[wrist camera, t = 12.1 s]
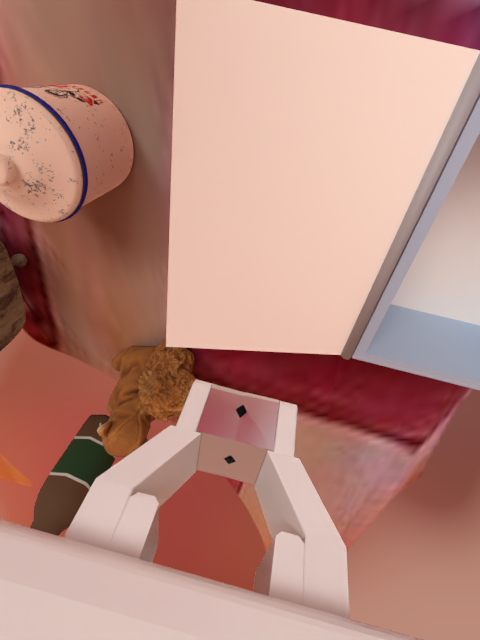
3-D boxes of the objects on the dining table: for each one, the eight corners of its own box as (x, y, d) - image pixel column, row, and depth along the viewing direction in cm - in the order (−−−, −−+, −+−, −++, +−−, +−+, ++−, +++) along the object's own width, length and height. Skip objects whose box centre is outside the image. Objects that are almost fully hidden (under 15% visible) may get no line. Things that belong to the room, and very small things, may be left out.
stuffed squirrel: (111, 359, 49) (52, 438, 39) (169, 310, 42) (117, 391, 31) (164, 400, 52) (123, 484, 42) (227, 361, 45) (197, 451, 34)
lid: (165, 351, 25) (166, 339, 26) (351, 359, 28) (346, 348, 29) (176, -19, 13) (177, -14, 14) (502, 54, 16) (483, 53, 17)
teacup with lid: (116, 70, 28) (13, 72, 19) (150, 186, 33) (82, 233, 24) (-1, 96, 31) (-140, 109, 22) (46, 199, 36) (-50, 244, 27)
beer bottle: (130, 446, 62) (42, 614, 43) (89, 434, 62) (-16, 596, 43) (127, 419, 57) (27, 596, 38) (83, 407, 58) (-37, 575, 39)
